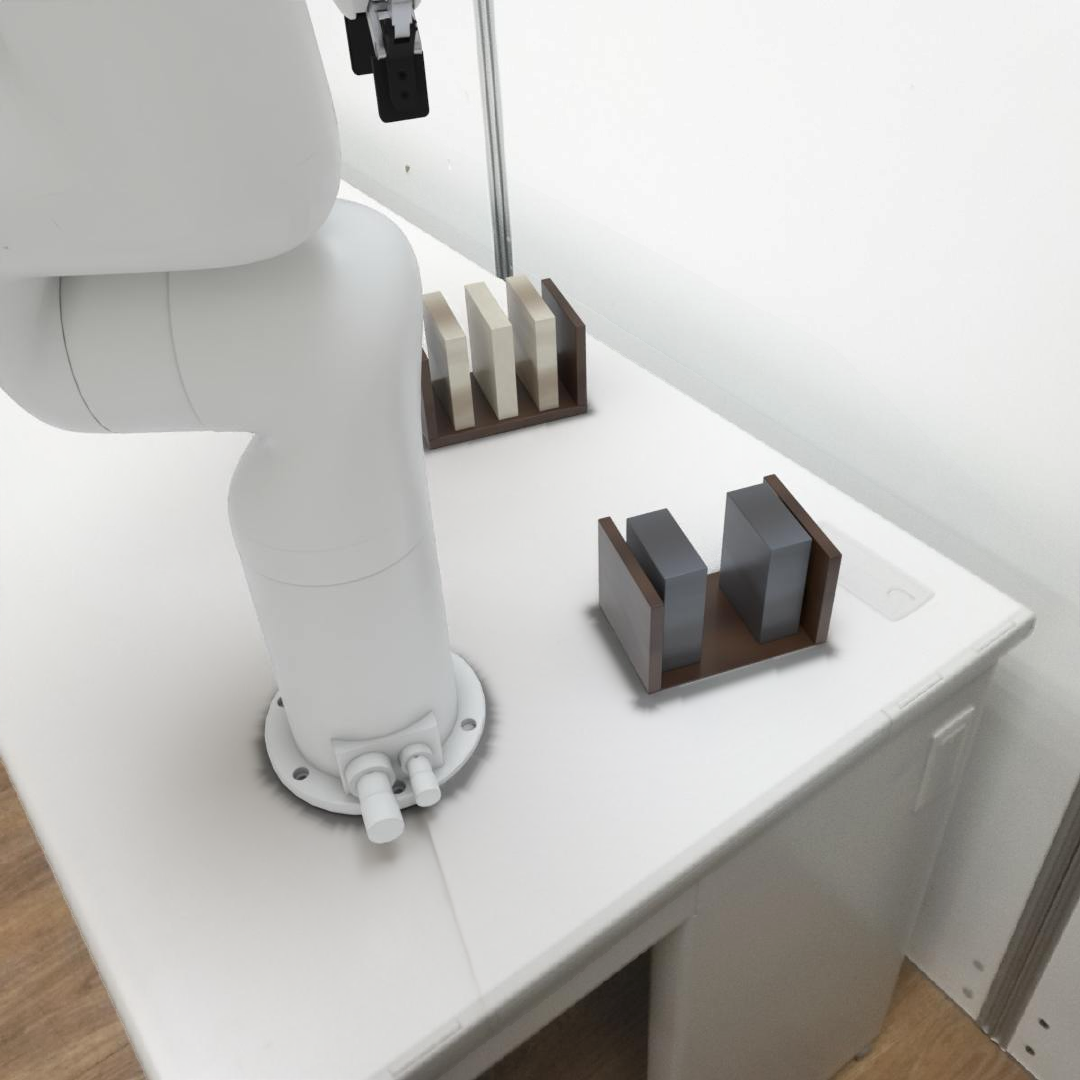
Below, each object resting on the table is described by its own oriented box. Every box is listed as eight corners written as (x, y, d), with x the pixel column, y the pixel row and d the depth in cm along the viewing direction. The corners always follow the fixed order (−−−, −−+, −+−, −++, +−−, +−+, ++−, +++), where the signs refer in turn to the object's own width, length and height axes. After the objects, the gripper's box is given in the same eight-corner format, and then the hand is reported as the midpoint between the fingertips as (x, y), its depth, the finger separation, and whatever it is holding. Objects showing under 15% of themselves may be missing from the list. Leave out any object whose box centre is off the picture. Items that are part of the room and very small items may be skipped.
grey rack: (825, 650, 67) (844, 546, 62) (648, 703, 65) (651, 599, 59) (763, 567, 73) (775, 465, 68) (598, 612, 71) (597, 510, 65)
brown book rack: (587, 412, 87) (585, 313, 82) (429, 449, 85) (416, 349, 79) (553, 361, 93) (549, 265, 87) (405, 395, 90) (390, 297, 84)
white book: (518, 416, 86) (512, 324, 81) (498, 420, 86) (491, 329, 80) (491, 369, 91) (483, 280, 86) (472, 373, 91) (463, 284, 86)
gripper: (266, -222, 69) (314, 63, 80) (307, -183, 57) (357, 149, 68) (384, -232, 71) (415, 49, 82) (450, -197, 58) (476, 130, 69)
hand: (389, 94), depth 75 cm, fingers open, 9 cm apart
